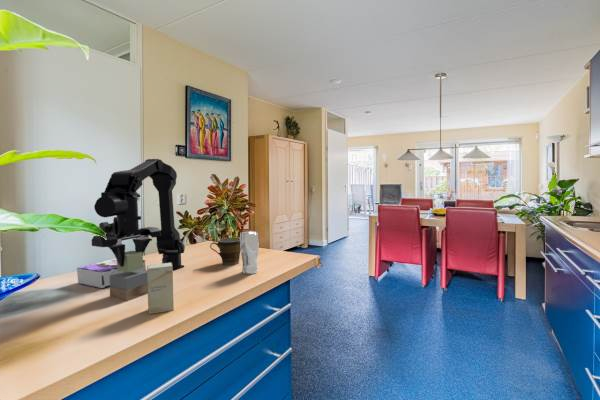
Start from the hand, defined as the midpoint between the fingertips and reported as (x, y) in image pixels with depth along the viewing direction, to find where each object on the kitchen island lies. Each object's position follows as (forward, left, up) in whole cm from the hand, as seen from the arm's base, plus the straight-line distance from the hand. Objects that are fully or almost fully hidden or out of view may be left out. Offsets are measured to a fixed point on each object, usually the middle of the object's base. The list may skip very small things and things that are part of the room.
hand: (130, 264), depth 95 cm
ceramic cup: (-40, +4, -10) cm, 41 cm away
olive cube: (0, 0, -2) cm, 2 cm away
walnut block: (0, 0, -10) cm, 10 cm away
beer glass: (-34, +20, -10) cm, 41 cm away
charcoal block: (0, 0, -6) cm, 6 cm away
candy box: (+1, -20, -7) cm, 21 cm away
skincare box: (+4, +18, -10) cm, 21 cm away
